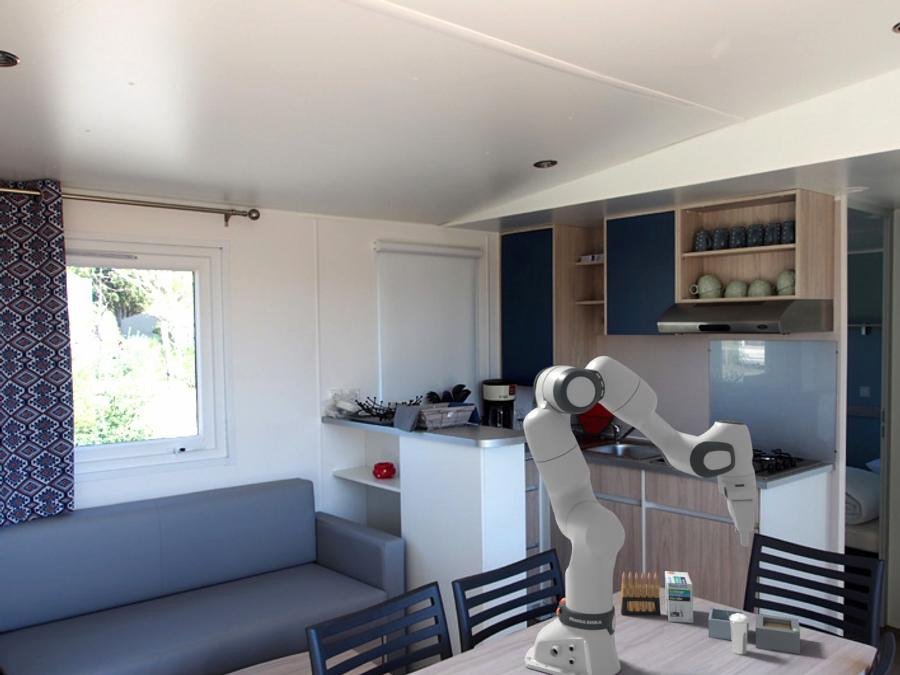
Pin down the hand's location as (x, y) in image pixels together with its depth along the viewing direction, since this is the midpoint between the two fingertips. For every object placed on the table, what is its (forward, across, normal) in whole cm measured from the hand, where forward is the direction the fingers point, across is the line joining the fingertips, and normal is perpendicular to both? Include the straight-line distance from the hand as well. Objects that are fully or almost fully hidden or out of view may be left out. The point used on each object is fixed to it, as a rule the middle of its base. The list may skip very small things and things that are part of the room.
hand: (742, 539), depth 182 cm
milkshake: (+27, +3, -4) cm, 27 cm away
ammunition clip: (+26, -17, -27) cm, 41 cm away
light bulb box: (+27, -18, -17) cm, 36 cm away
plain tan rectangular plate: (+25, -4, +6) cm, 26 cm away
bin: (+27, -8, -5) cm, 29 cm away
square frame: (+28, -4, +6) cm, 29 cm away
